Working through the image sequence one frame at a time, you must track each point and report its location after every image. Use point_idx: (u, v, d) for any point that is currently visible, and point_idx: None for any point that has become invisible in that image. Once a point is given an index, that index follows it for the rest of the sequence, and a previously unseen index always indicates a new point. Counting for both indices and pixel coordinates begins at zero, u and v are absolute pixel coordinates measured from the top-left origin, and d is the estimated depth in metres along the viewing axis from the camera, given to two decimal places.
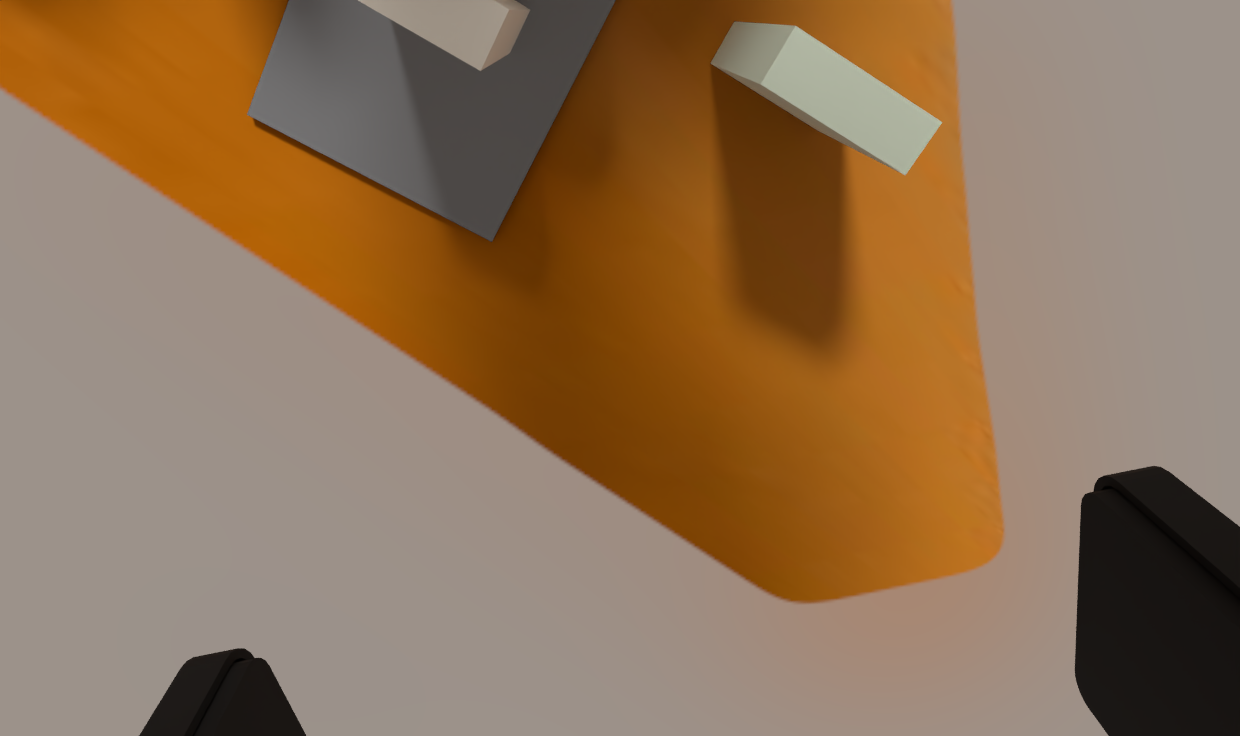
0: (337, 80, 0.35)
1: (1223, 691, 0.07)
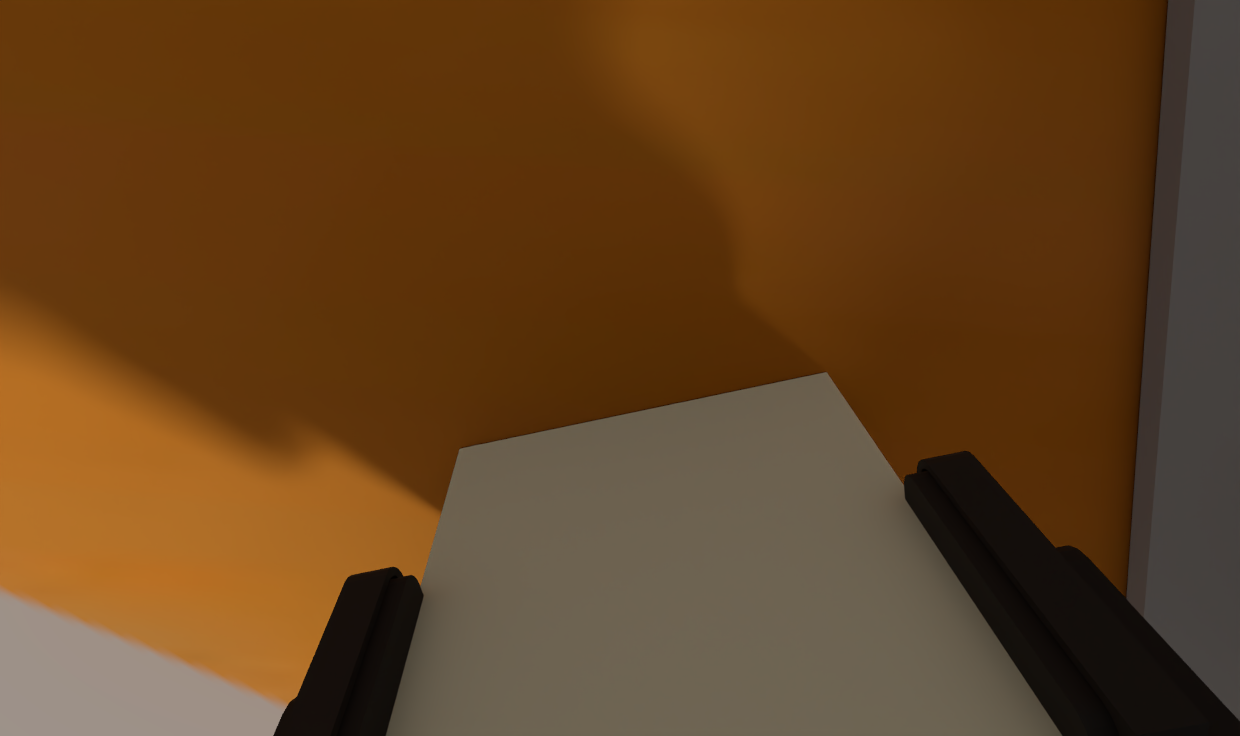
0: None
1: None
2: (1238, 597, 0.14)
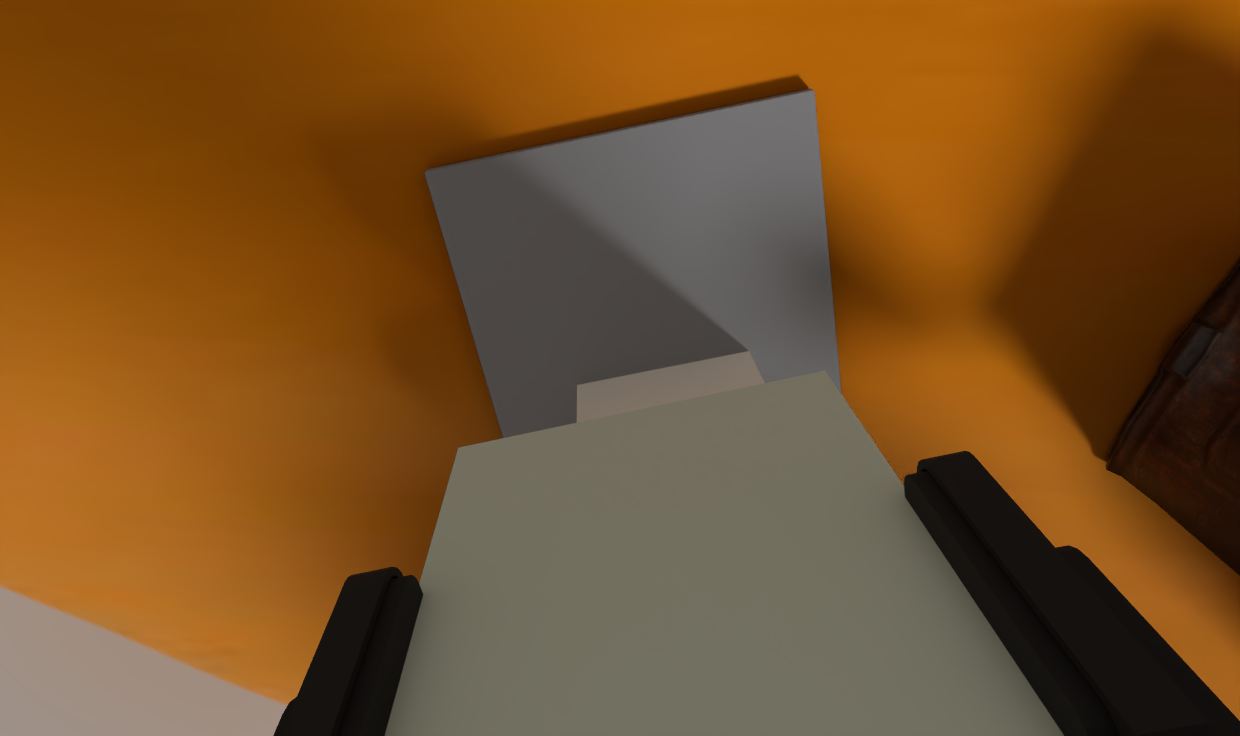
0: (731, 216, 0.25)
1: None
2: None
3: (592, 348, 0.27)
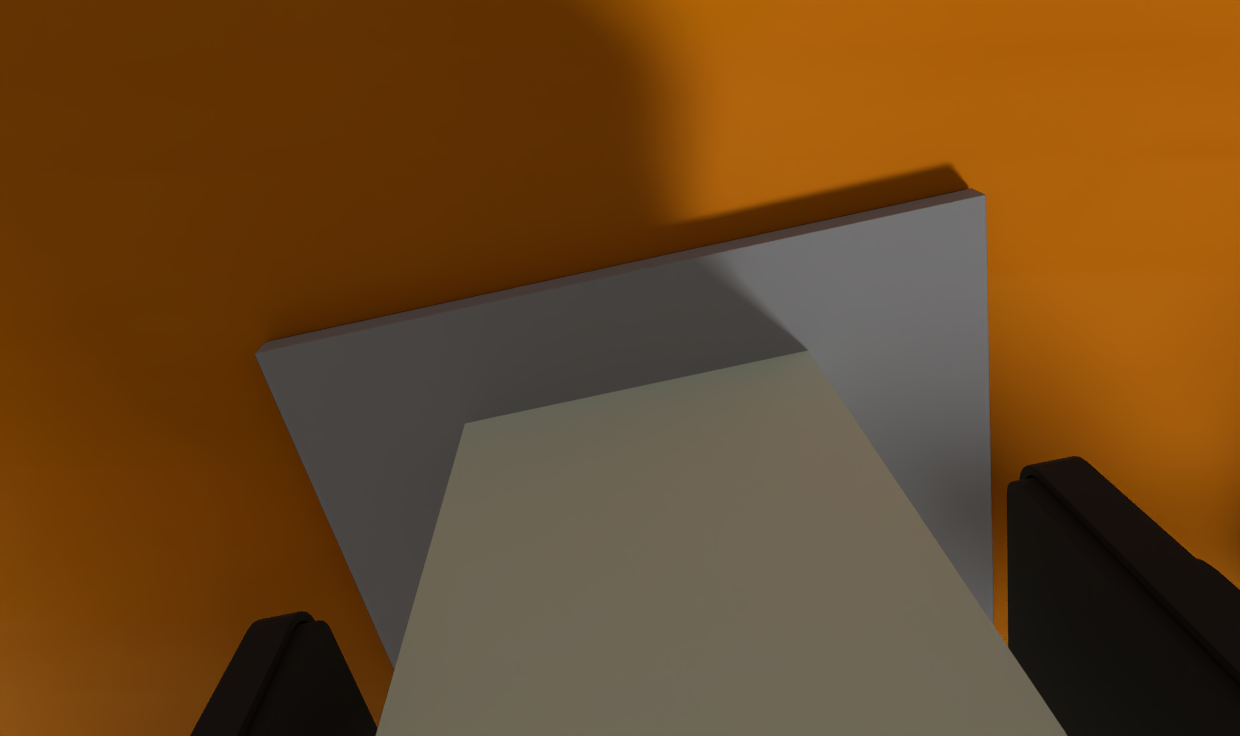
0: None
1: (1122, 665, 0.07)
2: None
3: None
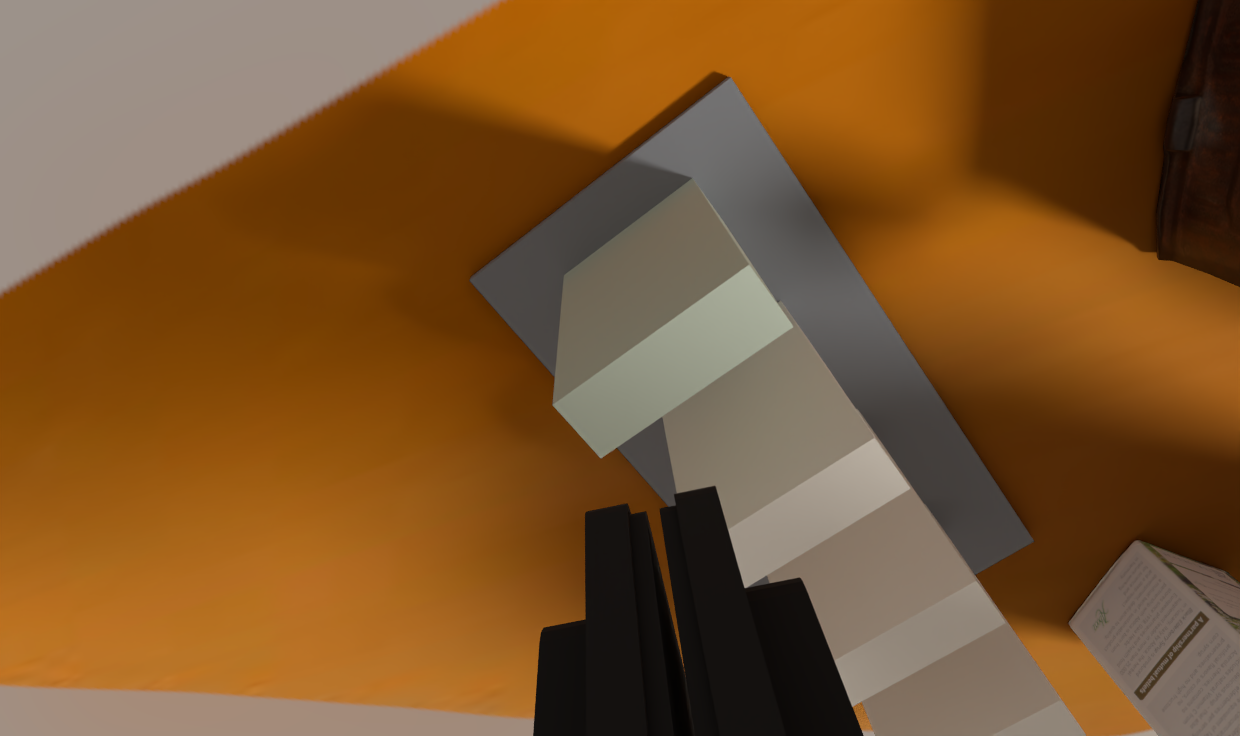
0: (714, 204, 0.29)
1: None
2: None
3: None
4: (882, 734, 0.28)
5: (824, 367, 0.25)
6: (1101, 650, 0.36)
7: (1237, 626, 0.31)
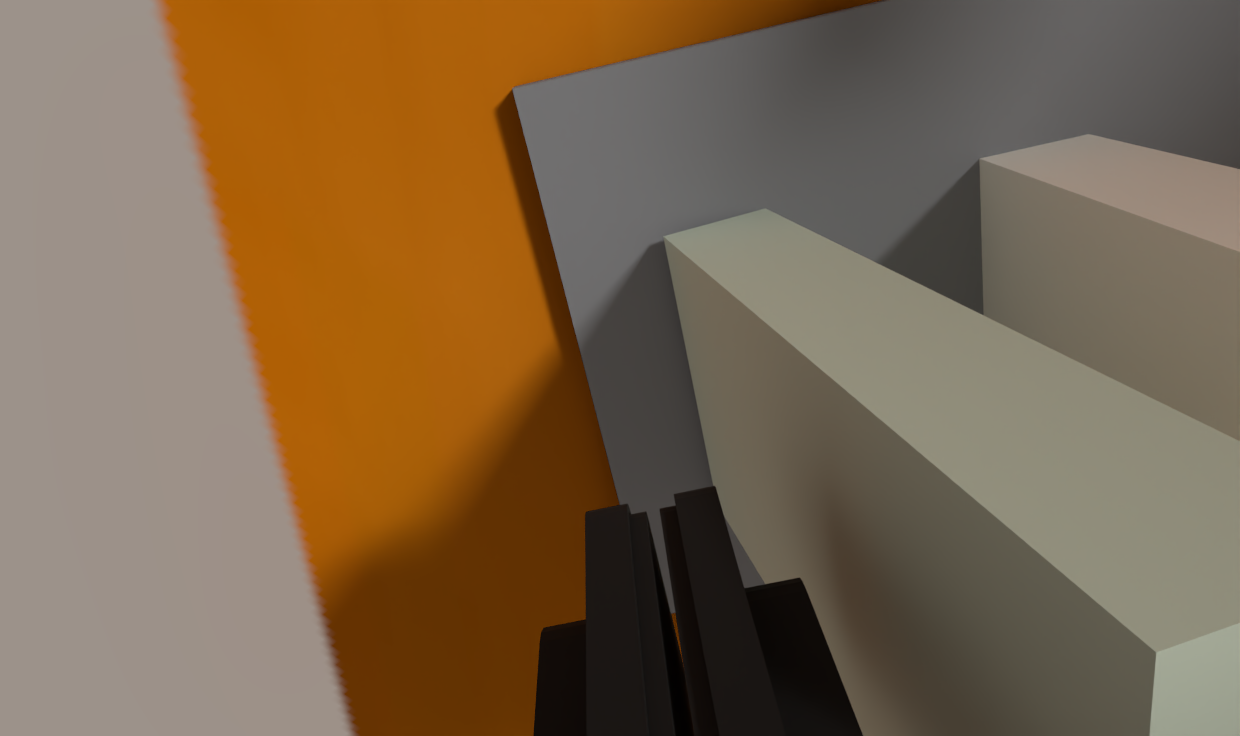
0: (726, 212, 0.15)
1: None
2: None
3: None
4: None
5: None
6: None
7: None
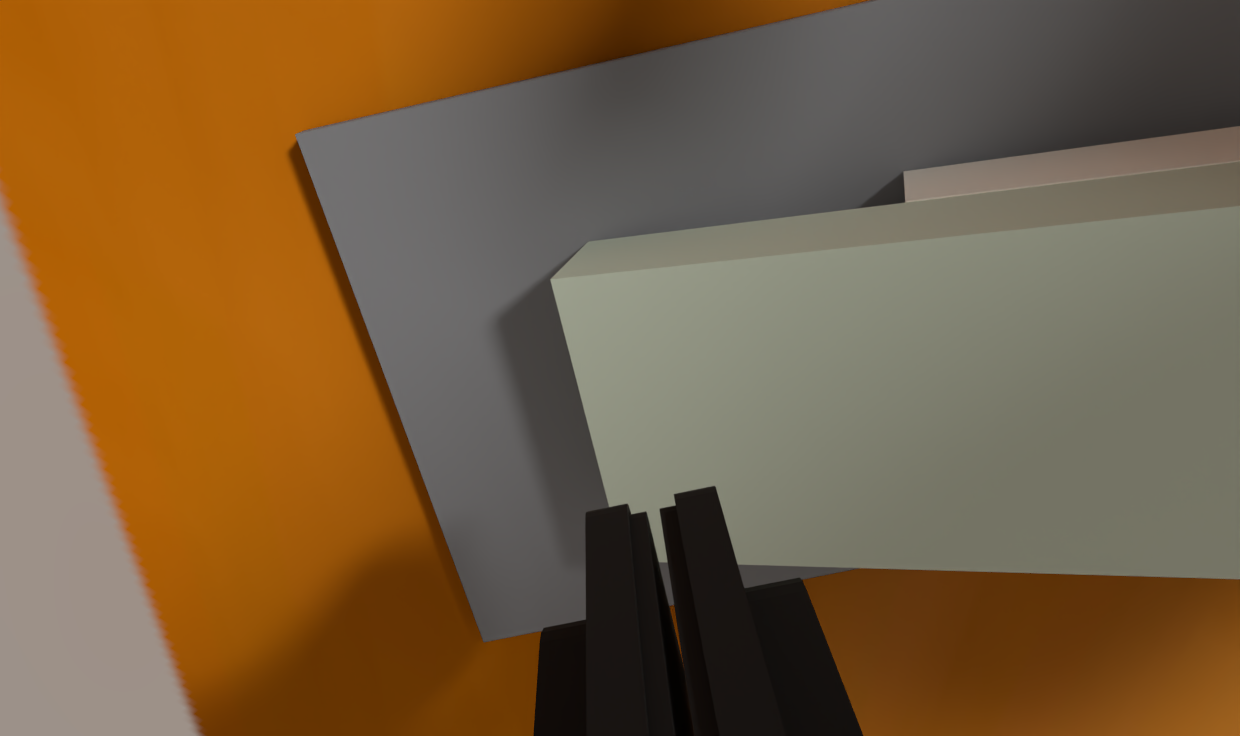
0: (519, 252, 0.15)
1: None
2: None
3: None
4: None
5: None
6: None
7: None
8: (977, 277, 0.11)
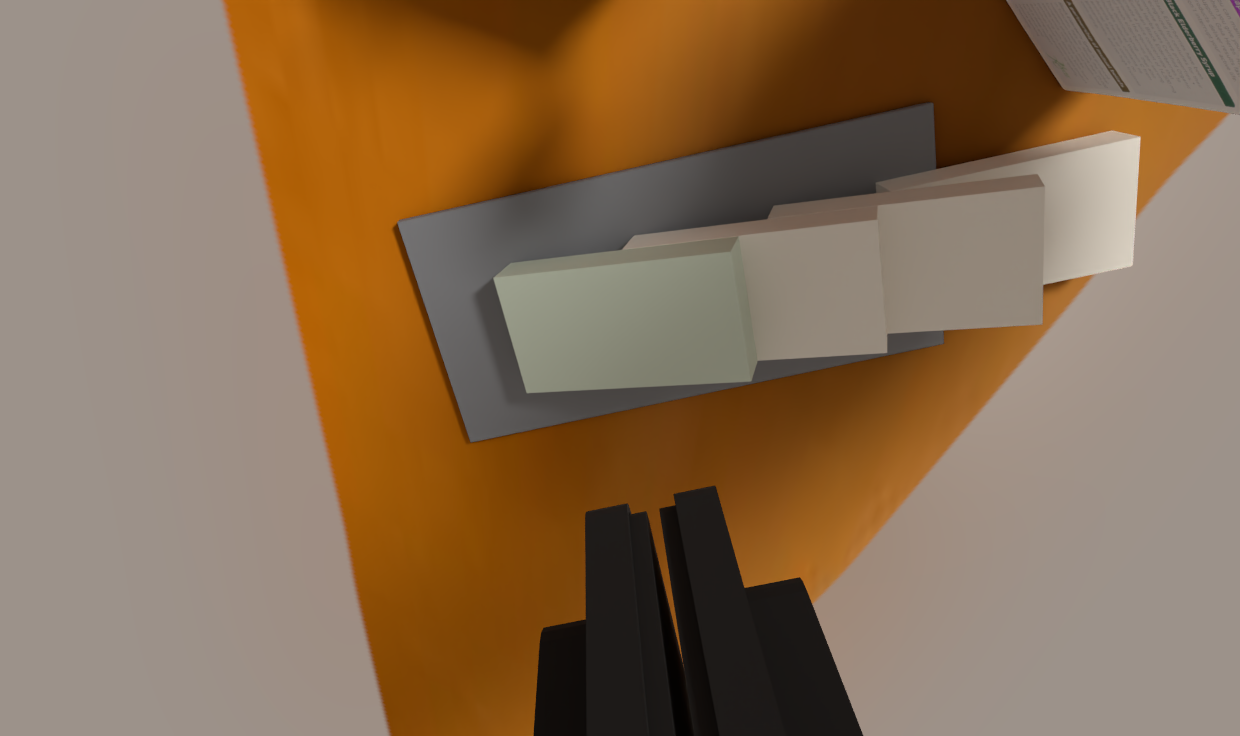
0: (483, 267, 0.38)
1: None
2: None
3: None
4: (1092, 269, 0.37)
5: (762, 234, 0.34)
6: (1086, 85, 0.34)
7: None
8: (631, 277, 0.34)
